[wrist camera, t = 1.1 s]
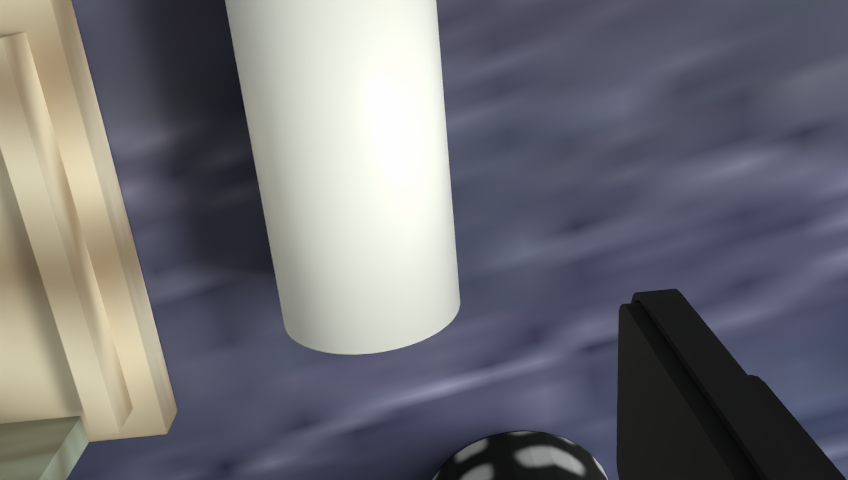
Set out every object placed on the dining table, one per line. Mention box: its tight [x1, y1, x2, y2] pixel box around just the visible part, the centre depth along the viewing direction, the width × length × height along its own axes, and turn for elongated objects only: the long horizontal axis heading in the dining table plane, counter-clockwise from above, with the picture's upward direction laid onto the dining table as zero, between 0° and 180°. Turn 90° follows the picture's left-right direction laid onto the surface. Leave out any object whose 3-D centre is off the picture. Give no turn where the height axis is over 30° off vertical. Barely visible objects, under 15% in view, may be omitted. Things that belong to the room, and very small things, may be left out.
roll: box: [225, 0, 460, 354], centre depth 23 cm, size 12×6×6 cm, turn 5°
